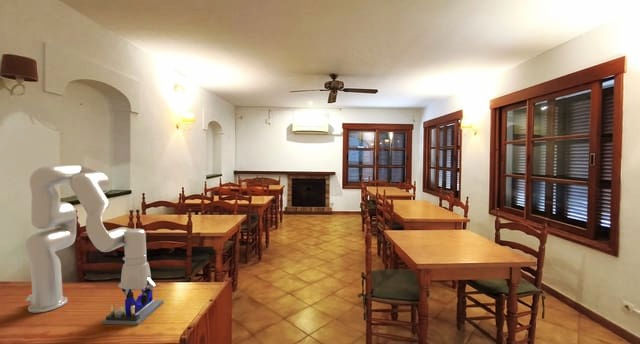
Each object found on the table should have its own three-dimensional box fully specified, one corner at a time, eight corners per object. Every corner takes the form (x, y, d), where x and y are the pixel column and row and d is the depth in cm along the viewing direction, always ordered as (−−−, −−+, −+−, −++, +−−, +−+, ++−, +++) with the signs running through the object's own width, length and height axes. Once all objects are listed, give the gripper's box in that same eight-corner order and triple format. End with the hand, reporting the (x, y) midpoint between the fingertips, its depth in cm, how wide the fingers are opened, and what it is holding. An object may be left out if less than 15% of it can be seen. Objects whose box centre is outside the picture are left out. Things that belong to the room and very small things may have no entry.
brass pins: (106, 320, 120) (105, 306, 120) (109, 317, 122) (109, 304, 122) (136, 320, 120) (136, 307, 119) (139, 318, 122) (139, 305, 121)
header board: (102, 323, 120) (102, 320, 120) (132, 302, 137) (131, 299, 137) (138, 324, 119) (138, 321, 119) (163, 303, 136) (163, 300, 136)
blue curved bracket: (143, 299, 136) (142, 286, 136) (152, 300, 136) (152, 286, 135) (122, 314, 124) (121, 299, 124) (132, 315, 124) (131, 300, 123)
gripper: (108, 262, 125) (110, 307, 127) (151, 263, 124) (152, 308, 126) (121, 256, 133) (123, 298, 134) (161, 257, 132) (163, 299, 133)
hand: (137, 303), depth 130 cm, fingers open, 5 cm apart
